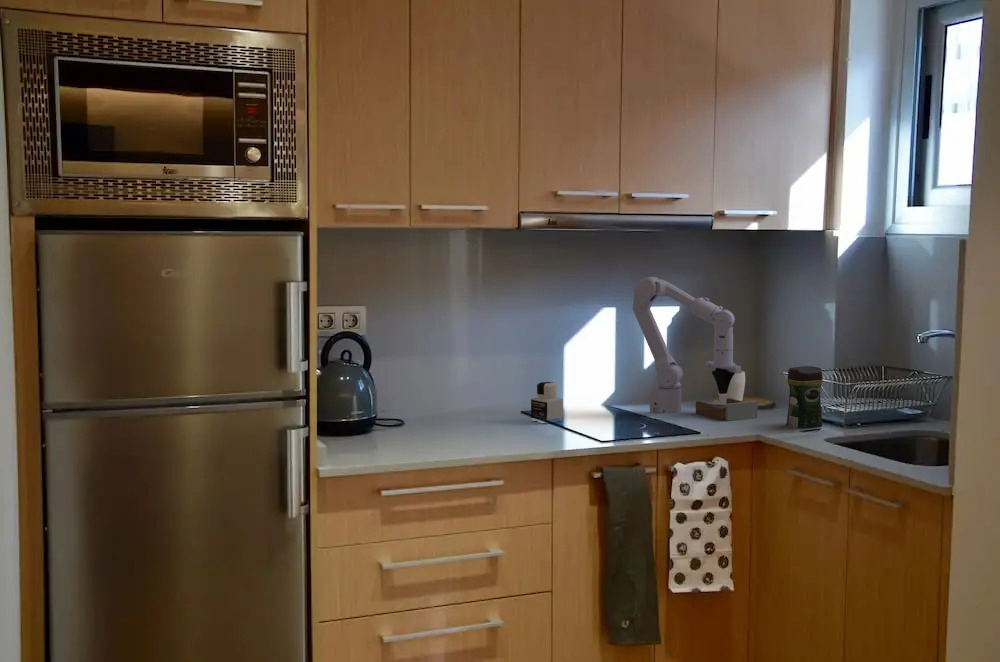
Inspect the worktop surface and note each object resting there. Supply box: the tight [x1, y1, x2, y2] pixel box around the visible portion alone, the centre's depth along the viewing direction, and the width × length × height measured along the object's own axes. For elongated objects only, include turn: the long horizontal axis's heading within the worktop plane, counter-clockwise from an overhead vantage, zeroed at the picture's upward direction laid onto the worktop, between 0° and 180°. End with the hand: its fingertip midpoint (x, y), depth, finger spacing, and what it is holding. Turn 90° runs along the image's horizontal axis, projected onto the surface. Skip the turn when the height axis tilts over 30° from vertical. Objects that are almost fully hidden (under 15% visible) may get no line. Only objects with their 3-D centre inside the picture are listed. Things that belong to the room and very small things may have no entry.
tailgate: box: [724, 400, 758, 422], centre depth 294 cm, size 11×1×5 cm, turn 115°
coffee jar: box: [786, 365, 824, 433], centre depth 284 cm, size 10×8×19 cm
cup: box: [717, 370, 746, 407], centre depth 319 cm, size 9×9×12 cm
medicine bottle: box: [530, 381, 564, 420], centre depth 300 cm, size 7×7×12 cm
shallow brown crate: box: [695, 398, 745, 422], centre depth 301 cm, size 13×13×5 cm
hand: (723, 393), depth 302 cm, fingers closed
